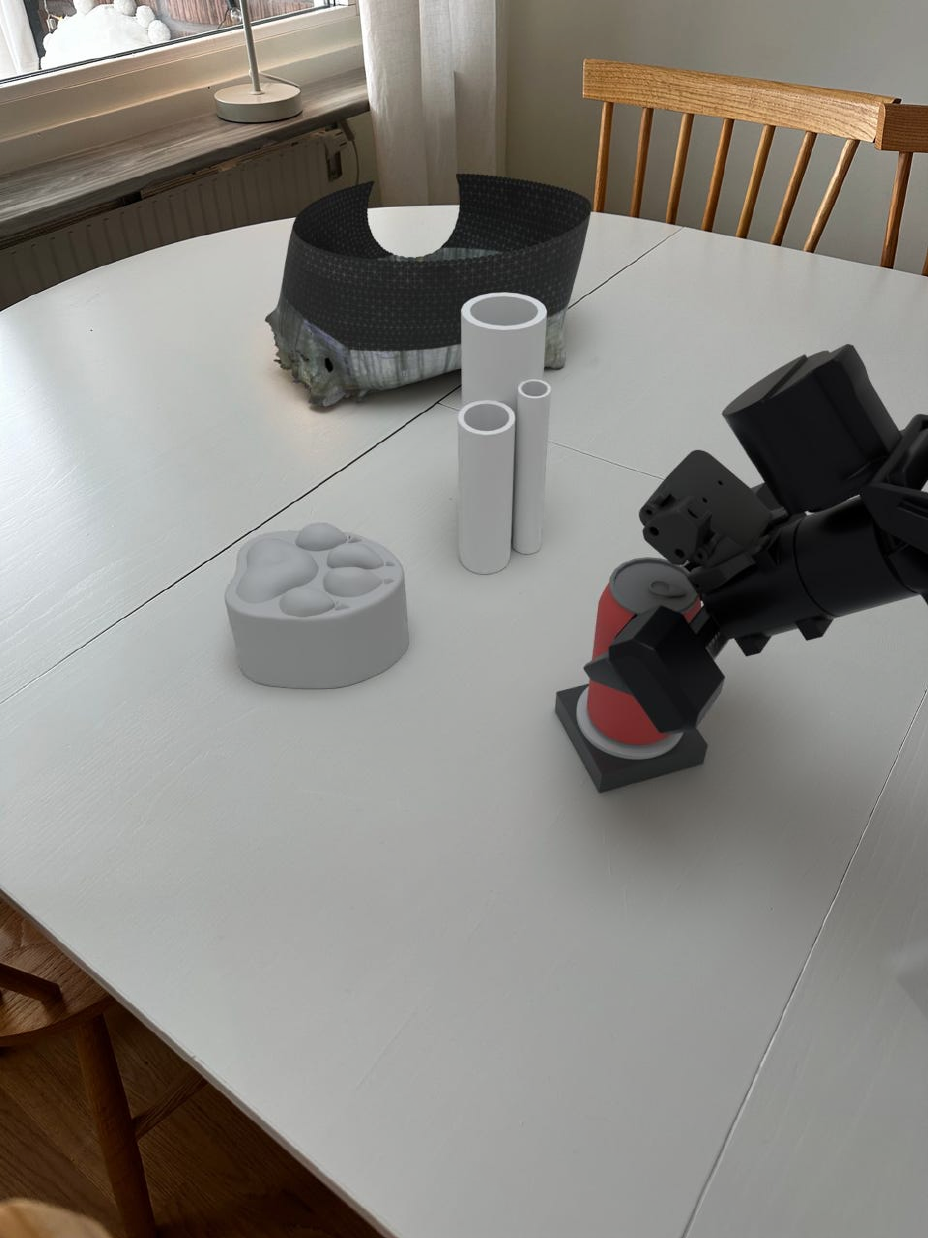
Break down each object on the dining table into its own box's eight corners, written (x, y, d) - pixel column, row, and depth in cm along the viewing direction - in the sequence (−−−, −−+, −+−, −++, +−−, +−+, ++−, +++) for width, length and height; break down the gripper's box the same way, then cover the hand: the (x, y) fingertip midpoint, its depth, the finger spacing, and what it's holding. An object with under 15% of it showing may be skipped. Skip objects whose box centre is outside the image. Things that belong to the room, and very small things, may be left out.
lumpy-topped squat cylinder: (258, 596, 82) (241, 512, 76) (413, 598, 81) (408, 515, 75) (232, 687, 74) (211, 602, 68) (403, 690, 74) (397, 605, 68)
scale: (652, 684, 74) (656, 661, 72) (703, 763, 68) (709, 740, 67) (554, 710, 72) (556, 686, 71) (599, 793, 67) (602, 770, 65)
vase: (463, 495, 92) (461, 291, 78) (540, 497, 92) (551, 292, 78) (458, 573, 84) (455, 360, 70) (542, 575, 83) (556, 362, 70)
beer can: (673, 759, 66) (701, 630, 57) (576, 738, 67) (591, 608, 59) (686, 690, 70) (714, 561, 62) (595, 671, 72) (611, 543, 63)
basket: (296, 297, 123) (279, 162, 112) (574, 296, 123) (584, 161, 112) (260, 416, 103) (234, 265, 92) (594, 415, 102) (608, 263, 91)
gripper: (814, 367, 56) (624, 465, 69) (665, 529, 45) (470, 612, 57) (910, 524, 58) (709, 592, 71) (790, 717, 47) (576, 758, 59)
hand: (623, 631), depth 64 cm, fingers open, 9 cm apart
